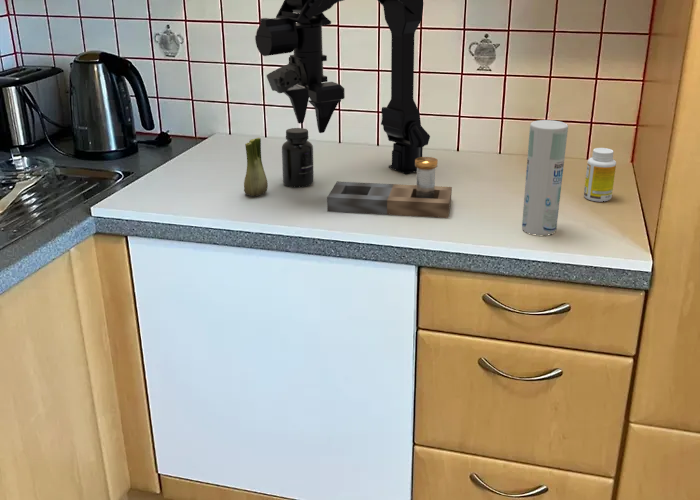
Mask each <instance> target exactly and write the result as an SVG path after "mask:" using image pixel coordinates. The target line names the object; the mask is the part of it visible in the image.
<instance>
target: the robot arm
mask: <svg viewBox="0 0 700 500" xmlns="http://www.w3.org/2000/svg"><path fill="white" fill-rule="evenodd" d="M342 1H344V0H284V1H283V2H282V5H281V6H280V8H279V10H278V12H277V13H276V16H275V18H274V17H272V18H270V17H269V18H268V17H262V18H260V25H259V26H258V27H257V29H256V32H255V36H254V41H255V46H256V48H257V50H258V53H259V54H261V56H263V57H268V56H269V57H270V56H275V55H284V54H289V53H292V52H293V54H289V57H288V64H286V65H282V66H281V67H278V68H277V69H275V70H273V71H271V72H269V73H268V74H266V78H267V81H268V84H269V87H270V88H271V90H272V91H274V92H277V93H278V94H284V95H286V96H287V97H288V98H289V100H290V104H291V106H292V109H293V112H294V115H295V117H296V121H297V123H298V124H304V123H305V122H304V121H305V118H306V114H307V109H308V105H309V103H310V104H311V106H312V107H313V108H314V111H315V117H316V125H317V129H318V133H320V134H323V133H325V131H326V129H327V127H328V125H329V123H330V120H331V118H332V116H333V114H334V113H335V112H334V111H335V109H336V108H337V106H338V104H339V103H341V102H342V100H345V88H344V87H343V86H342V85H341V84H340V83H337V82H334V81H328V76H327V75H324V62H327V61H328V59H327V58H328V57H327V55H326V54H323V26H330V25H331V24H332V21H331V20H330V19H329V18H328V17H327V16H326V15H325V13H324V12H326V11H328V10H330V9H331V8H332V7H333V6H334V5H335V4H337V3H339V2H342ZM376 1H378V3H380V4H381V6H382V7H383V12H384V13H383V15H384V20H385V22H386V24H387V26H388V29H389V32H390V33H391V42H390V43H391V46H390V47H391V50H390V51H391V54H390V55H391V57H390V58H391V59H390V61H391V63H390V65H391V68H390V69H391V70H390V75H391V77H390V79H391V80H390V82H391V83H390V84H391V85H390V89H391V90H390V92H391V93H390V100H389V102H388V104H387V106H382V108H381V109H380V110H381V122H380V125H381V126H382V127H383V132H385V133H386V137H387V140H388V142H393V144H392V147H393V148H392V149H393V150H391V164H389V165H388V168H389V169H391V170H394V171H397V172H399V173H401V174H405V175H406V174H407V175H408V174H413V173H415V172H416V173H417V167H415V159H416V158H419V157H423V149H424V147H425V146H428V145H429V141H430V138H431V135H430V134H429V133H428V132H427V131H426V130H425V128H423V126H422V123H421V113H420V110H419V108H418V106H417V104H416V102H415V100H414V85H415V84H414V83H415V81H414V78H415V77H414V76H415V73H414V72H415V34H416V31H417V29H418V27H419V26H420V24H421V22H422V21H423V20H422V19H423V11H424V4H425V3H424V0H376Z"/></svg>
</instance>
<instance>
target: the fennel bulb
mask: <svg viewBox="0 0 700 500" xmlns="http://www.w3.org/2000/svg"><path fill="white" fill-rule="evenodd" d="M261 141H262V139H261V137H256V138H252V139H249V142H247V143H245V152H246V153H245V154H246V170H245V171H246V172H245V176H244V180H243V192H244V193H245V194H246V195H247V196H251V197H258V196H261V195H264V194H265V193H267V190H268V179H267V175H266V172H265V170H264V165H263V161H262V146H261V145H262V143H261Z"/></svg>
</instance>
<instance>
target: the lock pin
mask: <svg viewBox="0 0 700 500" xmlns="http://www.w3.org/2000/svg"><path fill="white" fill-rule="evenodd" d="M438 162H439V161H438V159H437V158H435V157H432V156H422V157H419V158H416V159H415V167H417V171H416V184H415V185H416V198H430V199H434V190H435V186H436V185H435V184H436V168H437V167H438Z"/></svg>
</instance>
